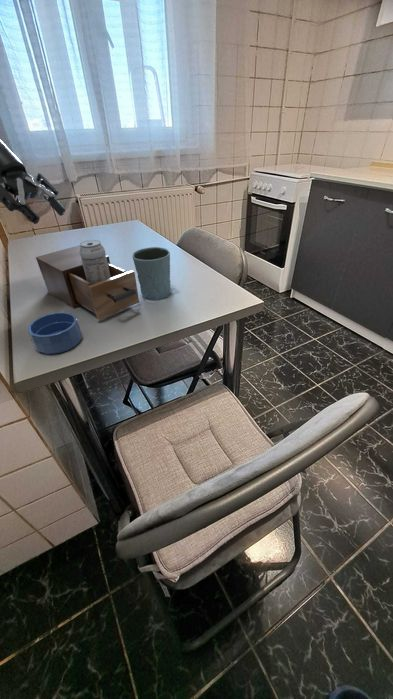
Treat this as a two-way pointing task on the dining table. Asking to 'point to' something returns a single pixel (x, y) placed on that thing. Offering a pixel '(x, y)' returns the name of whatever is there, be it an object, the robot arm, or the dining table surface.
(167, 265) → the blue ceramic cup
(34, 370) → the dining table surface
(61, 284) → the cabinet
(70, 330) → the bowl
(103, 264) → the energy drink can
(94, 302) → the drawer
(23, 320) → the dining table surface
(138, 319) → the dining table surface
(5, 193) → the robot arm
